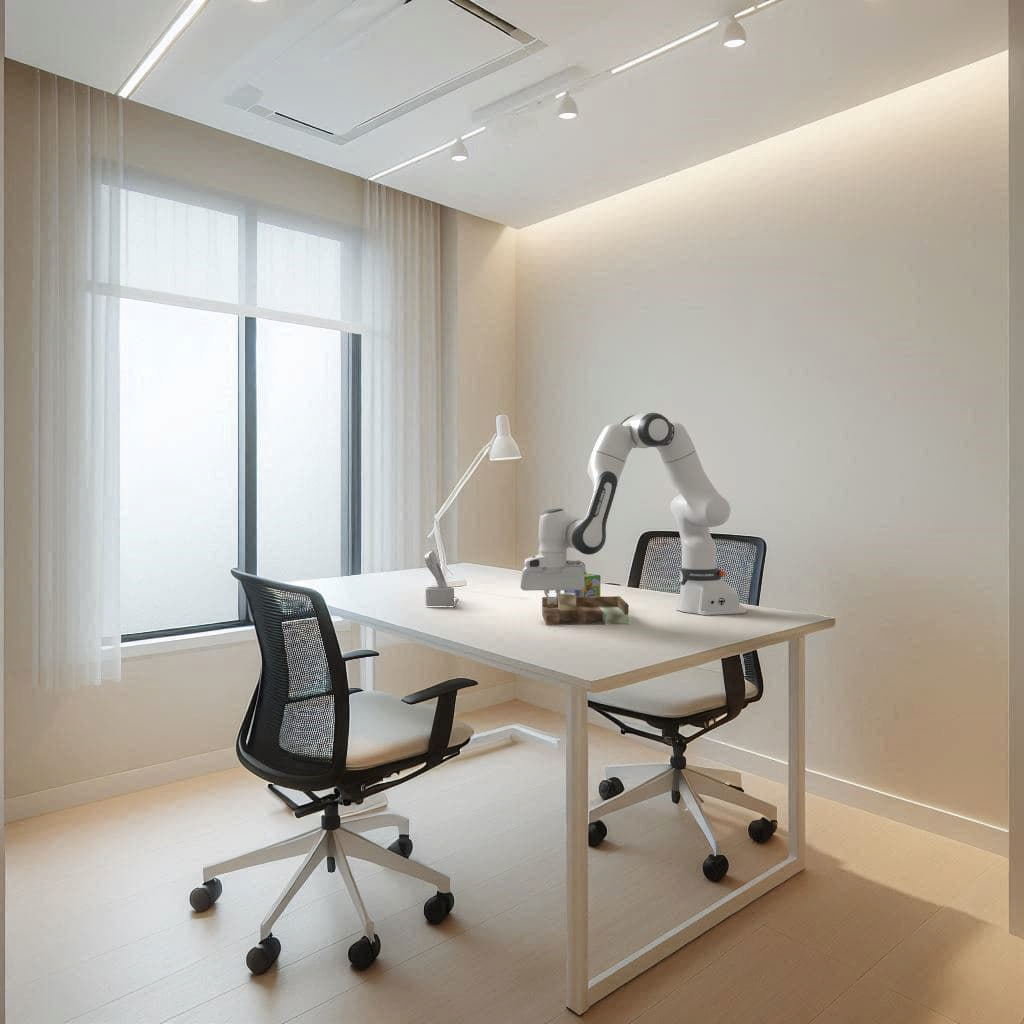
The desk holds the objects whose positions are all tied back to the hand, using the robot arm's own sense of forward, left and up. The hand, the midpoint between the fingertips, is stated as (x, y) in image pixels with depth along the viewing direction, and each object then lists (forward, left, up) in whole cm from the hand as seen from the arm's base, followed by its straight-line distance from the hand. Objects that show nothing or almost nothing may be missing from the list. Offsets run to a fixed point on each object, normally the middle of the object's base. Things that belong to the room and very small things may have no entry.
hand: (552, 604), depth 243 cm
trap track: (-10, +3, -4) cm, 11 cm away
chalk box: (-12, -16, -5) cm, 21 cm away
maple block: (-5, 0, -2) cm, 5 cm away
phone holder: (+36, -29, -5) cm, 47 cm away
